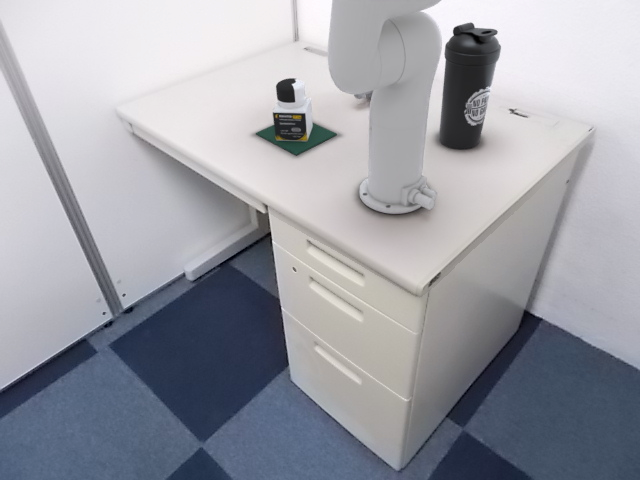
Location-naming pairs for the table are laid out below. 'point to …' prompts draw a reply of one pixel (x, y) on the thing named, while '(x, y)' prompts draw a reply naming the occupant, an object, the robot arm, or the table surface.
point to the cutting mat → (298, 147)
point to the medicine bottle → (292, 111)
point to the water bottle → (467, 84)
